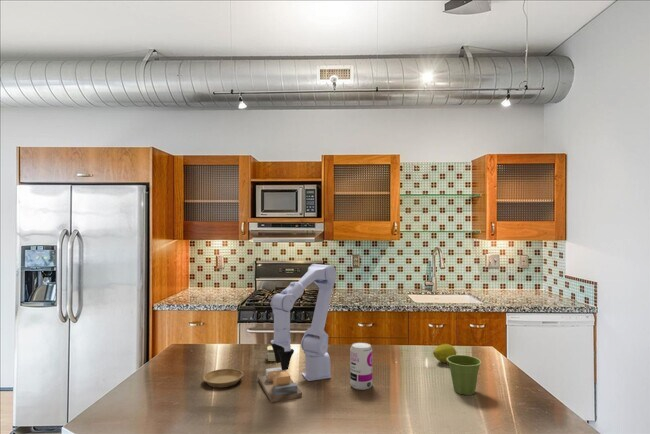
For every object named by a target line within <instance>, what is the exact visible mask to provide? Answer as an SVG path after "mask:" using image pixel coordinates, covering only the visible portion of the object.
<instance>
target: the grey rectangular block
mask: <svg viewBox="0 0 650 434" xmlns="http://www.w3.org/2000/svg"><path fill="white" fill-rule="evenodd" d="M283 371H287V370H282V368H281V366H279V367H271V368H266V369H265V376H266V380H267V382H272V381H273V373H276V372H283Z"/></svg>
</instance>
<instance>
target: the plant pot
mask: <svg viewBox="0 0 650 434" xmlns="http://www.w3.org/2000/svg"><path fill="white" fill-rule="evenodd" d="M447 361H448V363H447V364H448V366H449V370H450V375H451V380H452V381H451V382H452V385H453V387H452V388H453V390H454V391H453V392H455V393H457V394H459V395H465V396H471V395H475V393H476V387H477V380H478V374H479V371H480V365H482V361H481V359H479V358H477V357H476V356H471V355H468V354H456V355H452V356H449V357H447Z"/></svg>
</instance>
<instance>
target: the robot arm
mask: <svg viewBox="0 0 650 434" xmlns="http://www.w3.org/2000/svg"><path fill="white" fill-rule="evenodd" d="M336 278H337V271H336V268H335V266H334V265H333V264H319V263H318V264H317V263H312V264H310V266H309V267H307V272H305V274H304V275H303V276H302V277H300V279H299V280H298V281H291V282H290V283H289V285H288V286H287V287H286V288H284V289H283V290H282V291H281V292H280V293H275V294H274V295H273V296H272V298H271V299H270V300H271V301H270V302H269V303H270V304H269V305H270V307H271V310H272V314H273V339H272V340H270V346H272V348H273V351H274V355H275V360H276V362H275V363H276V364H280V367H281V368H282V370H286V371H287V370H289V368H290V362H291V360H292V356H293V354H294V353H295V350H294V349H293V348H292V346H291V341H292V340H291V310H292V309H293V307H294V304H295V303H296V301H297V300H298V299H299V298H300V297H301V296H302V295H303V294H304V290H305V289H306V287H309V285H311V284H312V283H313V282H314V284H315V285H316V286H317V288H318V294H317V299H316V303H315V307H314V311H313V316H312V321H311V324H310V327H309V328H308V329H306V330H305V331H304V334H303V337H302V339H301V341H300V347H301V350H302V351H303V354H304V355H305V356H304V357H305V359H304V360H305V361H304V363H305V368H304V369H305V371H304V372H301V374H302V376H303V377H304V378H305V379H306V380H307V381H308V382H310V381H319V380H325V379H331V378H332V376H331V358H330V355H329V353H328V349H329V338H330V337H329V334H328V333H326V331H325V327H326V322H327V316H328V313H329V307H330V302H331V298H332V294H333V290H334V289H333V288H334V287H335V286H334V285H335V283H336Z"/></svg>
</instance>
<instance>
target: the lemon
mask: <svg viewBox="0 0 650 434" xmlns="http://www.w3.org/2000/svg"><path fill="white" fill-rule="evenodd" d="M432 354H433V356H434V358H435V359H436V360H437V361H438V362H440V363H443V364H449V363H448V361H447V357H449V356H452V355H457V350H456V349H455V347H454V346H453V345H451V344H449V343H442V344H440V345H438V346H436V348H435V349H434V350H433V352H432Z"/></svg>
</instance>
